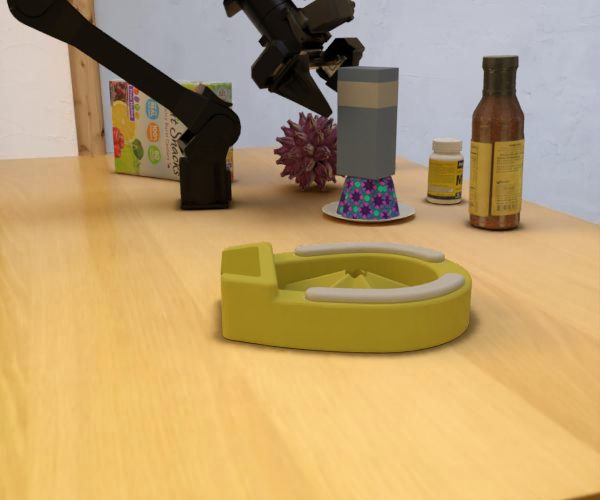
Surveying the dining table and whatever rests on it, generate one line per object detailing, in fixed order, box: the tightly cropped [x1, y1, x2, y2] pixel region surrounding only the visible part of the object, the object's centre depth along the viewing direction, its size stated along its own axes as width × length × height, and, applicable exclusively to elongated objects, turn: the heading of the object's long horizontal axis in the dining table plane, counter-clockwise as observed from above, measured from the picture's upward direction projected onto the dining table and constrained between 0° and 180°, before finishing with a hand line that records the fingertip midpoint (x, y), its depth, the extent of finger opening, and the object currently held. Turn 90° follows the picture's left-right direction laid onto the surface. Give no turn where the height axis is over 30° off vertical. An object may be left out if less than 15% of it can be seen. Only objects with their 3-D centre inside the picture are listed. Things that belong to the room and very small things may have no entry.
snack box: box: [108, 78, 235, 182], centre depth 125 cm, size 21×6×15 cm, turn 58°
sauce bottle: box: [468, 54, 526, 230], centre depth 94 cm, size 7×6×20 cm
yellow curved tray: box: [220, 241, 473, 354], centre depth 67 cm, size 16×21×5 cm
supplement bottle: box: [426, 137, 465, 205], centre depth 109 cm, size 5×5×8 cm
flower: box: [273, 111, 346, 192], centre depth 116 cm, size 12×12×12 cm
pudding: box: [321, 176, 416, 223], centre depth 101 cm, size 12×12×5 cm
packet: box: [336, 65, 400, 180], centre depth 98 cm, size 6×4×13 cm
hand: (349, 111), depth 99 cm, fingers open, 9 cm apart
